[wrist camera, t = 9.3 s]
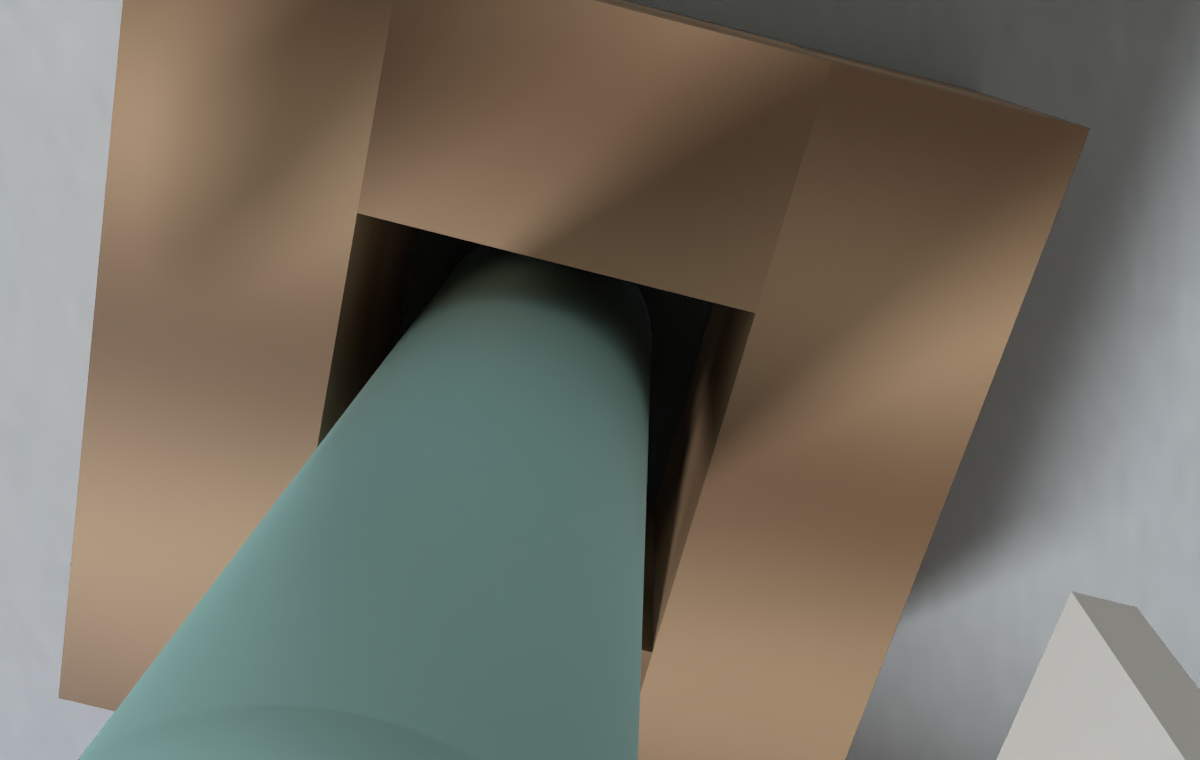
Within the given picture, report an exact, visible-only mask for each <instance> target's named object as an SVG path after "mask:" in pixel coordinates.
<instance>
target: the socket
mask: <svg viewBox="0 0 1200 760" xmlns="http://www.w3.org/2000/svg"><path fill="white" fill-rule="evenodd" d="M1089 130H1090V129H1089V128H1086V127H1083V126H1080V125H1077V124H1074V123H1071V122H1068V121H1065V120H1062V119H1059V118H1056V117H1053V116H1050V115H1047V114H1044V113H1041V112H1038V111H1035V110H1032V109H1029V108H1026V107H1023V106H1020V105H1017V104H1014V103H1011V102H1008V101H1004V100H1001V99H998V98H995V97H992V96H989V95H986V94H983V93H980V92H976V91H972V90H968V89H965V88H961V87H957V86H953V85H949V84H945V83H941V82H938V81H934V80H930V79H926V78H922V77H918V76H914V75H911V74H907V73H903V72H899V71H895V70H891V69H887V68H884V67H880V66H876V65H872V64H868V63H864V62H860V61H856V60H853V59H849V58H845V57H841V56H837V55H833V54H829V53H826V52H822V51H818V50H814V49H810V48H806V47H802V46H799V45H795V44H791V43H787V42H783V41H779V40H775V39H772V38H768V37H764V36H760V35H756V34H752V33H748V32H745V31H741V30H737V29H733V28H729V27H725V26H721V25H718V24H714V23H710V22H706V21H702V20H698V19H694V18H691V17H687V16H683V15H679V14H675V13H671V12H667V11H664V10H660V9H656V8H652V7H648V6H644V5H640V4H637V3H633V2H629V1H625V0H123V7H122V18H121V29H120V39H119V50H118V61H117V72H116V83H115V94H114V104H113V115H112V126H111V137H110V148H109V159H108V169H107V180H106V191H105V202H104V213H103V223H102V234H101V245H100V256H99V267H98V278H97V288H96V299H95V310H94V321H93V332H92V343H91V353H90V364H89V375H88V386H87V397H86V408H85V418H84V429H83V440H82V451H81V462H80V473H79V483H78V494H77V505H76V516H75V527H74V538H73V548H72V559H71V570H70V581H69V592H68V602H67V613H66V624H65V635H64V646H63V657H62V667H61V678H60V689H59V698H62V699H66V700H70V701H74V702H78V703H83V704H87V705H91V706H95V707H100V708H104V709H108V710H112V711H116V710H117V708H118V707H119V706H120V704H121V703H122V702H123V700H124V699H125V698H126V697H127V695H128V694H129V693H130V691H131V690H132V689H133V687H134V686H135V685H136V683H137V682H138V681H139V680H140V678H141V677H142V676H143V674H144V673H145V672H146V670H147V669H148V668H149V667H150V665H151V664H152V663H153V661H154V660H155V659H156V657H157V656H158V655H159V653H160V652H161V651H162V650H163V648H164V647H165V646H166V644H167V643H168V642H169V640H170V639H171V638H172V636H173V635H174V634H175V633H176V631H177V630H178V629H179V627H180V626H181V625H182V623H183V622H184V621H185V620H186V618H187V617H188V616H189V614H190V613H191V612H192V610H193V609H194V608H195V606H196V605H197V604H198V603H199V601H200V600H201V599H202V597H203V596H204V595H205V593H206V592H207V591H208V589H209V588H210V587H211V586H212V584H213V583H214V582H215V580H216V579H217V578H218V576H219V575H220V574H221V573H222V571H223V570H224V569H225V567H226V566H227V565H228V563H229V562H230V561H231V559H232V558H233V557H234V556H235V554H236V553H237V552H238V550H239V549H240V548H241V546H242V545H243V544H244V543H245V541H246V540H247V539H248V537H249V536H250V535H251V533H252V532H253V531H254V529H255V528H256V527H257V526H258V524H259V523H260V522H261V520H262V519H263V518H264V516H265V515H266V514H267V512H268V511H269V510H270V509H271V507H272V506H273V505H274V503H275V502H276V501H277V499H278V498H279V497H280V496H281V494H282V493H283V492H284V490H285V489H286V488H287V486H288V485H289V484H290V482H291V481H292V480H293V479H294V477H295V476H296V475H297V473H298V472H299V471H300V469H301V468H302V467H303V466H304V464H305V463H306V462H307V460H308V459H309V458H310V456H311V455H312V454H313V452H314V451H315V450H316V449H317V447H318V446H319V445H320V443H321V442H322V441H323V439H324V438H325V437H326V435H327V434H328V433H329V432H330V430H331V429H332V428H333V426H334V425H335V424H336V422H337V421H338V420H339V419H340V417H341V416H342V415H343V413H344V412H345V411H346V409H347V408H348V407H349V405H350V404H351V403H352V402H353V400H354V399H355V398H356V396H357V395H358V394H359V392H360V391H361V390H362V388H363V387H364V386H365V385H366V383H367V382H368V381H369V379H370V378H371V377H372V375H373V374H374V373H375V372H376V370H377V369H378V368H379V366H380V365H381V364H382V362H383V361H384V360H385V358H386V357H387V356H388V355H389V353H390V352H391V351H392V349H393V348H394V347H395V345H396V343H397V337H398V332H399V327H400V322H401V316H402V311H403V306H404V301H405V296H406V290H407V285H408V280H409V275H410V269H411V264H412V259H413V254H414V248H415V243H416V238H417V233H418V228H419V229H423V230H427V231H431V232H435V233H439V234H443V235H447V236H451V237H454V238H458V239H462V240H466V241H470V242H474V243H478V244H482V245H486V246H490V247H494V248H498V249H502V250H506V251H510V252H514V253H518V254H522V255H526V256H530V257H534V258H538V259H542V260H546V261H550V262H554V263H558V264H562V265H566V266H570V267H574V268H578V269H582V270H586V271H590V272H594V273H598V274H602V275H606V276H610V277H614V278H618V279H621V280H625V281H629V282H633V283H637V284H641V285H645V286H649V287H653V288H657V289H661V290H665V291H669V292H673V293H677V294H681V295H685V296H689V297H693V298H697V299H701V300H705V301H709V302H713V307H712V310H711V314H710V317H709V321H708V324H707V327H706V331H705V334H704V338H703V341H702V345H701V348H700V352H699V355H698V359H697V362H696V365H695V369H694V372H693V376H692V379H691V383H690V386H689V390H688V393H687V397H686V400H685V403H684V407H683V410H682V414H681V417H680V421H679V424H678V428H677V431H676V435H675V438H674V441H673V445H672V448H671V452H670V455H669V459H668V462H667V466H666V469H665V472H664V476H663V479H662V483H661V486H660V490H659V493H658V497H657V500H656V504H655V505H651V504H647V503H646V526H645V557H644V588H643V619H642V650H641V681H640V712H639V743H638V760H845V759H846V756H847V754H848V751H849V748H850V746H851V743H852V741H853V738H854V735H855V733H856V730H857V728H858V725H859V723H860V720H861V717H862V715H863V712H864V710H865V707H866V705H867V702H868V699H869V697H870V694H871V692H872V689H873V687H874V684H875V681H876V679H877V676H878V674H879V671H880V668H881V666H882V663H883V661H884V658H885V656H886V653H887V650H888V648H889V645H890V643H891V640H892V638H893V635H894V632H895V630H896V627H897V625H898V622H899V620H900V617H901V614H902V612H903V609H904V607H905V604H906V601H907V599H908V596H909V594H910V591H911V589H912V586H913V583H914V581H915V578H916V576H917V573H918V571H919V568H920V565H921V563H922V560H923V558H924V555H925V553H926V550H927V547H928V545H929V542H930V540H931V537H932V534H933V532H934V529H935V527H936V524H937V522H938V519H939V516H940V514H941V511H942V509H943V506H944V504H945V501H946V498H947V496H948V493H949V491H950V488H951V486H952V483H953V480H954V478H955V475H956V473H957V470H958V467H959V465H960V462H961V460H962V457H963V455H964V452H965V449H966V447H967V444H968V442H969V439H970V437H971V434H972V431H973V429H974V426H975V424H976V421H977V419H978V416H979V413H980V411H981V408H982V406H983V403H984V400H985V398H986V395H987V393H988V390H989V388H990V385H991V382H992V380H993V377H994V375H995V372H996V370H997V367H998V364H999V362H1000V359H1001V357H1002V354H1003V352H1004V349H1005V346H1006V344H1007V341H1008V339H1009V336H1010V333H1011V331H1012V328H1013V326H1014V323H1015V321H1016V318H1017V315H1018V313H1019V310H1020V308H1021V305H1022V303H1023V300H1024V297H1025V295H1026V292H1027V290H1028V287H1029V285H1030V282H1031V279H1032V277H1033V274H1034V272H1035V269H1036V266H1037V264H1038V261H1039V259H1040V256H1041V254H1042V251H1043V248H1044V246H1045V243H1046V241H1047V238H1048V236H1049V233H1050V230H1051V228H1052V225H1053V223H1054V220H1055V218H1056V215H1057V212H1058V210H1059V207H1060V205H1061V202H1062V199H1063V197H1064V194H1065V192H1066V189H1067V187H1068V184H1069V181H1070V179H1071V176H1072V174H1073V171H1074V169H1075V166H1076V163H1077V161H1078V158H1079V156H1080V153H1081V151H1082V148H1083V145H1084V143H1085V140H1086V138H1087V135H1088V132H1089Z"/></svg>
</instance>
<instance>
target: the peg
mask: <svg viewBox="0 0 1200 760" xmlns="http://www.w3.org/2000/svg"><path fill="white" fill-rule="evenodd" d="M651 341H652V336H651V323H650V319H649V314H648V309H647V307H646V304H645V301H644V298H643V296H642V294H641V292H640V290H639V288H638V286H637V284H636V283H633V282H629V281H625V280H621V279H618V278H614V277H610V276H606V275H602V274H598V273H594V272H590V271H586V270H582V269H578V268H574V267H570V266H566V265H562V264H558V263H554V262H550V261H546V260H542V259H538V258H534V257H530V256H526V255H522V254H518V253H514V252H510V251H506V250H502V249H498V248H494V247H490V246H486V245H481V246H479V247H478V248H476V249H475V250H473V251H472V252H471V253H469V254H468V255H467V256H466V257H465V258H464V259H463V260H462V261H461V262H460V263H459V264H458V265H457V266H456V267H455V269H454V270H453V271H452V272H451V274H450V275H449V276H448V278H447V279H446V280H445V281H444V283H443V284H442V285H441V287H440V288H439V289H438V291H437V292H436V293H435V295H434V296H433V297H432V298H431V300H430V301H429V302H428V304H427V305H426V306H425V308H424V309H423V310H422V311H421V313H420V314H419V315H418V317H417V318H416V319H415V321H414V322H413V323H412V325H411V326H410V327H409V328H408V330H407V331H406V332H405V334H404V335H403V336H402V338H401V339H400V340H399V342H398V343H397V344H396V345H395V347H394V348H393V349H392V351H391V352H390V353H389V355H388V356H387V357H386V358H385V360H384V361H383V362H382V364H381V365H380V366H379V368H378V369H377V370H376V372H375V373H374V374H373V375H372V377H371V378H370V379H369V381H368V382H367V383H366V385H365V386H364V387H363V388H362V390H361V391H360V392H359V394H358V395H357V396H356V398H355V399H354V400H353V402H352V403H351V404H350V405H349V407H348V408H347V409H346V411H345V412H344V413H343V415H342V416H341V417H340V419H339V420H338V421H337V422H336V424H335V425H334V426H333V428H332V429H331V430H330V432H329V433H328V434H327V435H326V437H325V438H324V439H323V441H322V442H321V443H320V445H319V446H318V447H317V449H316V450H315V451H314V452H313V454H312V455H311V456H310V458H309V459H308V460H307V462H306V463H305V464H304V466H303V467H302V468H301V469H300V471H299V472H298V473H297V475H296V476H295V477H294V479H293V480H292V481H291V482H290V484H289V485H288V486H287V488H286V489H285V490H284V492H283V493H282V494H281V496H280V497H279V498H278V499H277V501H276V502H275V503H274V505H273V506H272V507H271V509H270V510H269V511H268V512H267V514H266V515H265V516H264V518H263V519H262V520H261V522H260V523H259V524H258V526H257V527H256V528H255V529H254V531H253V532H252V533H251V535H250V536H249V537H248V539H247V540H246V541H245V543H244V544H243V545H242V546H241V548H240V549H239V550H238V552H237V553H236V554H235V556H234V557H233V558H232V559H231V561H230V562H229V563H228V565H227V566H226V567H225V569H224V570H223V571H222V573H221V574H220V575H219V576H218V578H217V579H216V580H215V582H214V583H213V584H212V586H211V587H210V588H209V589H208V591H207V592H206V593H205V595H204V596H203V597H202V599H201V600H200V601H199V603H198V604H197V605H196V606H195V608H194V609H193V610H192V612H191V613H190V614H189V616H188V617H187V618H186V620H185V621H184V622H183V623H182V625H181V626H180V627H179V629H178V630H177V631H176V633H175V634H174V635H173V636H172V638H171V639H170V640H169V642H168V643H167V644H166V646H165V647H164V648H163V650H162V651H161V652H160V653H159V655H158V656H157V657H156V659H155V660H154V661H153V663H152V664H151V665H150V667H149V668H148V669H147V670H146V672H145V673H144V674H143V676H142V677H141V678H140V680H139V681H138V682H137V683H136V685H135V686H134V687H133V689H132V690H131V691H130V693H129V694H128V695H127V697H126V698H125V699H124V700H123V702H122V703H121V704H120V706H119V707H118V708H117V710H116V711H115V712H114V713H113V715H112V716H111V717H110V719H109V720H108V721H107V723H106V724H105V725H104V727H103V728H102V729H101V730H100V732H99V733H98V734H97V736H96V737H95V738H94V740H93V741H92V742H91V744H90V745H89V746H88V747H87V749H86V750H85V751H84V753H83V754H82V755H81V757H80V758H79V759H78V760H638V743H639V712H640V681H641V650H642V619H643V588H644V557H645V526H646V495H647V464H648V433H649V403H650V372H651Z"/></svg>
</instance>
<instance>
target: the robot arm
mask: <svg viewBox="0 0 1200 760" xmlns="http://www.w3.org/2000/svg"><path fill="white" fill-rule="evenodd" d="M997 760H1200V690H1199V689H1198V687H1197V686H1196V685H1195V683H1194V682H1193V681H1192V679H1191V678H1190V677H1189V675H1188V674H1187V673H1186V671H1185V670H1184V669H1183V668H1182V666H1181V665H1180V664H1179V662H1178V661H1177V660H1176V658H1175V657H1174V656H1173V654H1172V653H1171V652H1170V651H1169V649H1168V648H1167V647H1166V645H1165V644H1164V643H1163V641H1162V640H1161V639H1160V637H1159V636H1158V635H1157V633H1156V632H1155V631H1154V630H1153V628H1152V627H1151V626H1150V624H1149V623H1148V622H1147V620H1146V619H1145V618H1144V616H1143V615H1142V614H1141V613H1140V611H1139V610H1138V609H1137V607H1133V606H1129V605H1125V604H1121V603H1117V602H1112V601H1108V600H1104V599H1100V598H1096V597H1092V596H1088V595H1084V594H1080V593H1076V592H1072V591H1071V593H1070V596H1069V598H1068V600H1067V602H1066V605H1065V607H1064V609H1063V611H1062V614H1061V616H1060V618H1059V620H1058V623H1057V625H1056V627H1055V629H1054V632H1053V634H1052V636H1051V638H1050V641H1049V643H1048V645H1047V647H1046V650H1045V652H1044V654H1043V656H1042V659H1041V661H1040V663H1039V665H1038V668H1037V670H1036V672H1035V674H1034V677H1033V679H1032V681H1031V683H1030V686H1029V688H1028V690H1027V692H1026V695H1025V697H1024V699H1023V701H1022V704H1021V706H1020V708H1019V710H1018V713H1017V715H1016V717H1015V719H1014V722H1013V724H1012V726H1011V728H1010V731H1009V733H1008V735H1007V737H1006V740H1005V742H1004V744H1003V746H1002V749H1001V751H1000V753H999V755H998V758H997Z"/></svg>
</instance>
